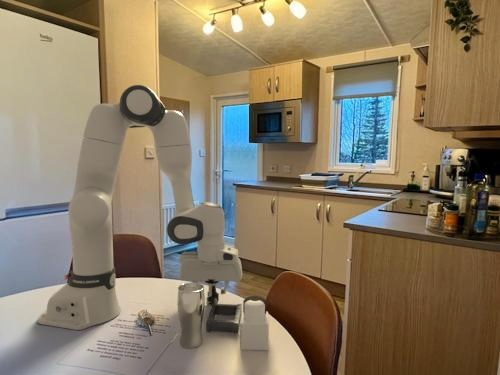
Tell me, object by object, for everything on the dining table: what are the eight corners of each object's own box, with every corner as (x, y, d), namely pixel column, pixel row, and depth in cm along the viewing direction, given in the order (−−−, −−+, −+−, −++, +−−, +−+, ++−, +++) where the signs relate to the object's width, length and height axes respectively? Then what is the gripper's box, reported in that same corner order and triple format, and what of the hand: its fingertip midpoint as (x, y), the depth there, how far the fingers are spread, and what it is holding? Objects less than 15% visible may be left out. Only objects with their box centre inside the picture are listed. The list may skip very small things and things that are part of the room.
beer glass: (192, 353, 84) (192, 295, 82) (172, 344, 87) (171, 288, 86) (210, 340, 90) (210, 285, 88) (190, 332, 93) (190, 280, 92)
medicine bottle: (241, 335, 92) (242, 293, 91) (267, 335, 92) (268, 293, 91) (240, 350, 85) (240, 304, 84) (268, 351, 85) (269, 305, 84)
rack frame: (206, 332, 93) (206, 322, 93) (213, 312, 105) (213, 303, 105) (238, 333, 93) (238, 323, 93) (241, 313, 105) (241, 304, 104)
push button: (214, 309, 107) (214, 278, 106) (199, 306, 109) (199, 276, 108) (222, 300, 113) (223, 272, 112) (208, 298, 115) (208, 270, 114)
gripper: (177, 254, 107) (177, 296, 108) (241, 255, 106) (240, 298, 107) (182, 248, 113) (182, 288, 115) (242, 250, 112) (242, 290, 113)
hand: (211, 293), depth 111 cm, fingers open, 7 cm apart
